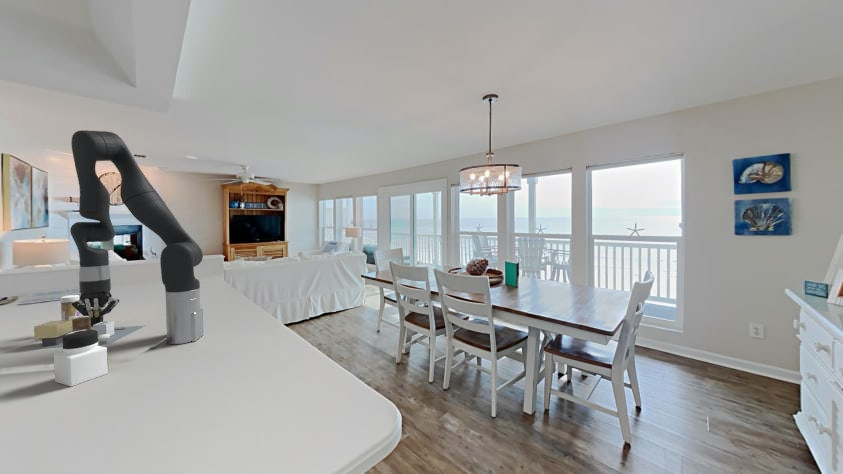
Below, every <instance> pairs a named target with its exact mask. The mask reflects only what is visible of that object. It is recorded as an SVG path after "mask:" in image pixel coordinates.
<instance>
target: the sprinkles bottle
mask: <svg viewBox="0 0 843 474" xmlns="http://www.w3.org/2000/svg"><path fill="white" fill-rule="evenodd" d="M59 299H60V300H59V301H60V306H61V309H60V310H61V311H60V314H61V316H60V317H61V320H73V319H76V318H79V317H81V315H80V314H81V313H80V312H79V311H78V310H76V309H75V308H74V307H73V306H72V303H74V302H76V301H78V300H79V299H80V295H79V294H72V295H69V294H68V295H63V296H61V297H60V298H59Z"/></svg>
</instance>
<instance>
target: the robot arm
mask: <svg viewBox="0 0 843 474" xmlns="http://www.w3.org/2000/svg"><path fill="white" fill-rule="evenodd" d="M70 143H71V151H72V157H73V161H74V167H75V172H76V176H77V181H78V187H79V204H78V205H79V211H78V212H79V215H80V217H82V218H84V219H88V220H90V221H78V222H75V223H73V224H72V225H71V226H70V229H69V230H70V236H71V237H72V240H73V241H74V244H75V246H76V248H77V251H78V256H79V257H78V259H79V272H78V282H79V283H78V284H79V293H80V295H79V300H78V301H76V302H74V303H72V306H73V307H74V308H75V309H76V310H78V311H79V312H80V314H81V316H82V317H90V323H91V326H92V329H93V325H95V324H97V323H100V322H104V316H105V315H107V314H110V313H111V312H112V311H113V309H114V308H115V307H116V306H117V305H118V303H120V299H118V298H117V299H115V298H114V297H113V295H112V293H111V289H112V287H111V286H112V285H111V269H110V263H109V262H110V261H109V258H110V257H109V251H108V250H107V249H105V248H99V247H98V248H97V247H91V246H89V245H88V243H97V242H98V243H99V242H100V243H104V242H109V241H112V240H113V239H114V238H115V235H116V231H115V229H114V224H112V221H111V216H110V209H111V208H110V206H111V196H110V193H109V190H108V189H107V187H106V186H105V184H104V183H103V182H102V180H100V178H99V177H98V174H97V171H96V164H97V162H108V161H109V162H111V163H112V164H113V165H114V166H115V168H116V169H117V171H118V172H119V174H120V199H121V202H122V203H123V205H125V207H126V208H127V210H128V211H129V213H130V214H131V215H132V216H133V217H134V218H135V219H136V220H137V221H138V222H140V223H141V224H142V225H144V226H145V227H147V229H149V230H150V231H151V232H153V233H154V234H155V235H157V236H158V237H159V238H160V239H161V241H162V242H163V243H164V244H165V245H166V246H165V247H164V248H163V249H162V251H161V253H160V273H161V275H160V276H161V281H162V284H163V286H164V289H165V318H166V321H165V322H166V325H165V326H166V343H167V344H168V345H181V344H186V343H191V341H192V342H197V341H198V340H199V339H200V338H202V337H203V336H204V335H203V334H204V309H203V308H201V290H200V289H201V286H200V284H201V283H200V279H197V278H196V277H195V273H194V272H195V271H194V269H195V268H194V267H196V266H198V265H200V264H201V262H202V261H203V259H204V253H203V251H202V250H203V249H202V248H201V247H200V246H199V244H198V243H197V242H196V241H195V240H194V239H193V238H192V237H191V236H190V234H189V233H188V232H186V230H185V229H184V228H183V227H182V225H181V224H180V222H179V221H178V220H177V218H176V216H175V215H174V214H173V212H172V211H171V209H169V207H168V205H167V204H166V203H165V201H164V200H163V199H162V197H161V196H160V194H159V193H158V192H157V190H156V188H154V186H153V185H152V184H151V183H150V181H149V179H148V178H147V177H146V175H145V174H144V172H143V171H142V170H141V167H140V166H139V165H138V163H137V161H136V160H135V158H134V156H133V155H132V152H131V150H130V149H129V147H128V145H127V144H126V143H125V141H124V140H123V139H122V138H121V137H120V136H119V134H117V133H115V132H112V131H106V130H105V131H103V130H88V129H87V130H83V129H82V130H77V131H75V132H74V133H73V135H72V136H71V142H70ZM91 220H93V221H91ZM106 305H107V306H106ZM202 335H203V336H202ZM201 336H202V337H201ZM199 337H200V338H199ZM198 338H199V339H198ZM197 339H198V340H197Z"/></svg>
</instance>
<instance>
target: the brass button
mask: <svg viewBox="0 0 843 474" xmlns="http://www.w3.org/2000/svg"><path fill="white" fill-rule="evenodd" d="M72 331H73V328H72V320H62V319H61V320H50V321H47V322H44V323H41V324H37V325H35V326H33V333H34V339H35V340H37V339H38V340H39V339H42V338H54V337H59V336H62V335H64V334H66V335H67V334H69V333H71V332H72Z"/></svg>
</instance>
